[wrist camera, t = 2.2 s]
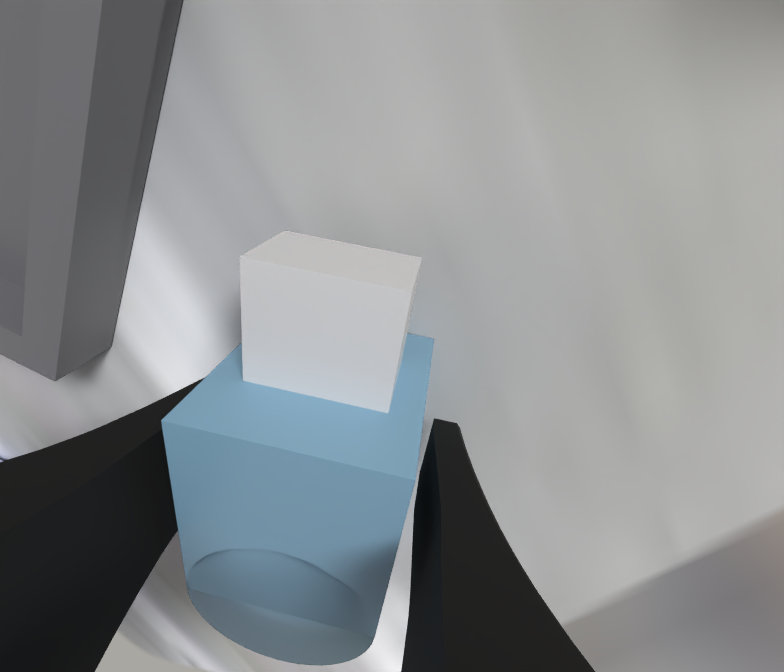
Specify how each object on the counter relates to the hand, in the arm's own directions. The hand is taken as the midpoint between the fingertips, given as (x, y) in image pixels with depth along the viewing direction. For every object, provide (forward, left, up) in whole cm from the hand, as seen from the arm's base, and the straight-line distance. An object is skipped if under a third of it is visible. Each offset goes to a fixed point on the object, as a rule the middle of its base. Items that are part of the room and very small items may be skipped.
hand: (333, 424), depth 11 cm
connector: (0, 0, -1) cm, 1 cm away
